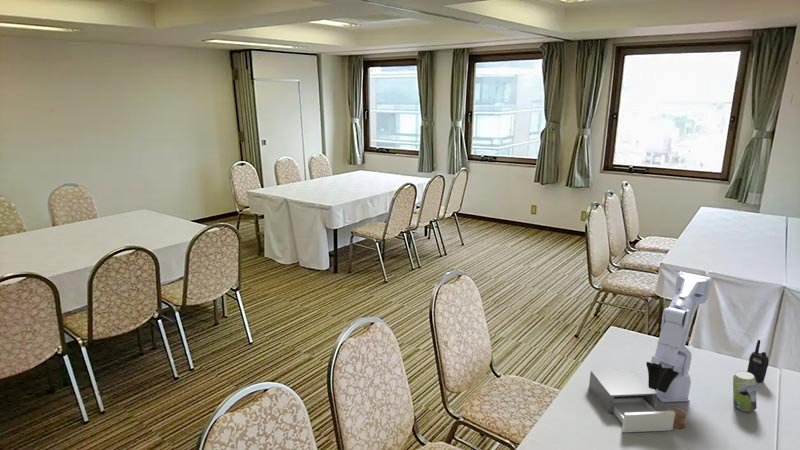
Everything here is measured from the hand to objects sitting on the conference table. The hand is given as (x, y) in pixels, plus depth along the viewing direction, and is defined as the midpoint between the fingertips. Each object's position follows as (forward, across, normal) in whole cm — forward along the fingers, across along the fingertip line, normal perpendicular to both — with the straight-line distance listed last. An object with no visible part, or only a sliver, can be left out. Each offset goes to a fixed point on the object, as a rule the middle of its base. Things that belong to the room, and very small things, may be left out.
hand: (657, 390), depth 144 cm
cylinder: (+8, +10, -4) cm, 13 cm away
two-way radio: (-14, +52, -12) cm, 55 cm away
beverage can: (-3, +32, -14) cm, 35 cm away
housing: (+7, +8, +13) cm, 17 cm away
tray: (+10, +4, +5) cm, 12 cm away
